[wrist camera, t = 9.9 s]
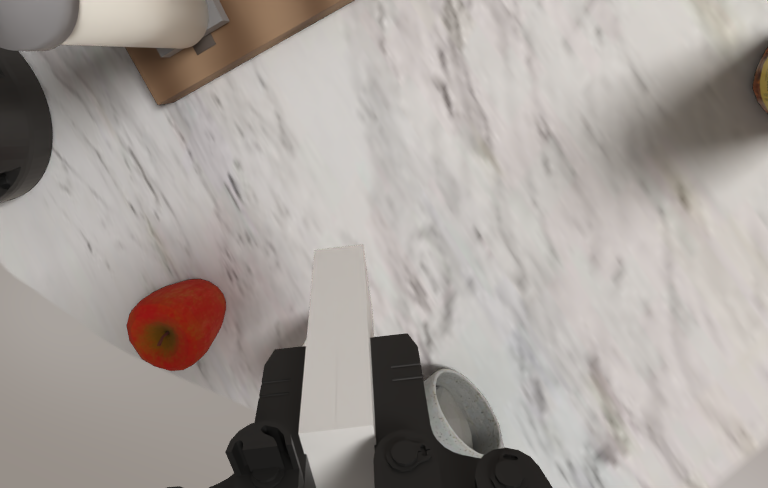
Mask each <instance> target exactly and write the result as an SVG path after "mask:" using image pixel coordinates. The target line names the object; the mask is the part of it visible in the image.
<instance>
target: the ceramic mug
mask: <svg viewBox="0 0 768 488" xmlns="http://www.w3.org/2000/svg"><path fill="white" fill-rule="evenodd" d="M424 388H425V394H426V400H427V406H428V412H429V419H430V425H431V428H432V431H433V434H434V436H435V437H436V439H437V440H438V441H439V442H440V443H441V444H442V445H443V446H444V447H445V448H447V449H449V450H451V451H452V452H455V453H458V454H461V455H466V456H471V457H476V458H482V456H483V455H485V454H487V453H488V452H490V451H492V450H494V449H501V448H505V447H504V444H503V441H502V435H501V430H500V427H499V423H498V421H497V419H496V416H495V415H494V412H493V410H492V409H491V407H490V405H489V403H488V402H487V400H486V399H485V397H484V396H483V395H482V393H481V392H480V391H479V390H478V389H477V388H476V387H475V385H474V384H473V383H472V382H470V381H469V380H468V379H467V378H466V377H464V376H463V375H462V374H460V373H458V372H457V371H455V370H451V369H440V370H438V371H436V372H435V373H433V374H432V375H431V376H430V377H429V378H427V379H426V380H425V381H424Z"/></svg>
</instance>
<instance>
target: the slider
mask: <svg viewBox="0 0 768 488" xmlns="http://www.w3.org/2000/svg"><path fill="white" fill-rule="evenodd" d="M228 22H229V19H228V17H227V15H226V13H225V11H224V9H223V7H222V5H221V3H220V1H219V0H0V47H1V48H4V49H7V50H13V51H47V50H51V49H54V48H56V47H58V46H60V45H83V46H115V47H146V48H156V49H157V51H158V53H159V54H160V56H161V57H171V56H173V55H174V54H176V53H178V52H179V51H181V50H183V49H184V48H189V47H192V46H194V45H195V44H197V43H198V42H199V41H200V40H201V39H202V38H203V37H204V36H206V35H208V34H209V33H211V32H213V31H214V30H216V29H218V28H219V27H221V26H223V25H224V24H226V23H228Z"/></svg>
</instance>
